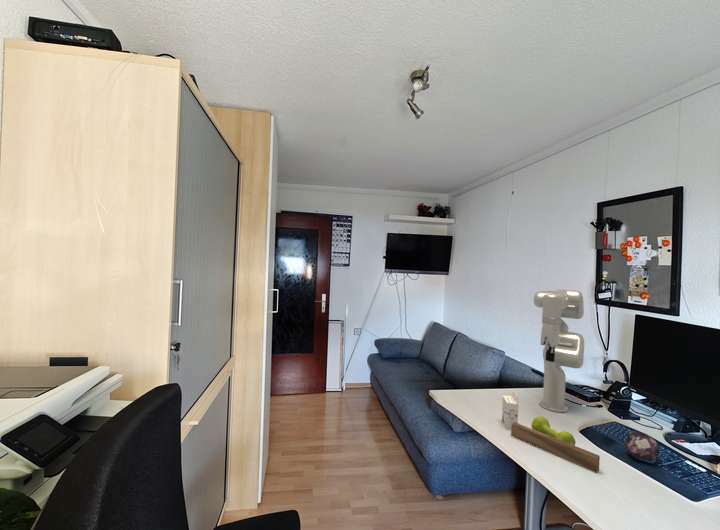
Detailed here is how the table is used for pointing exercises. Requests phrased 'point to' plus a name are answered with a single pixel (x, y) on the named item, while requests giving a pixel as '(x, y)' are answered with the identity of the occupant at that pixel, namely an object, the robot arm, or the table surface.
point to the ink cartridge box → (510, 410)
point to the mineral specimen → (642, 446)
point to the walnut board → (557, 447)
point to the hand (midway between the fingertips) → (550, 360)
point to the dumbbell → (551, 430)
